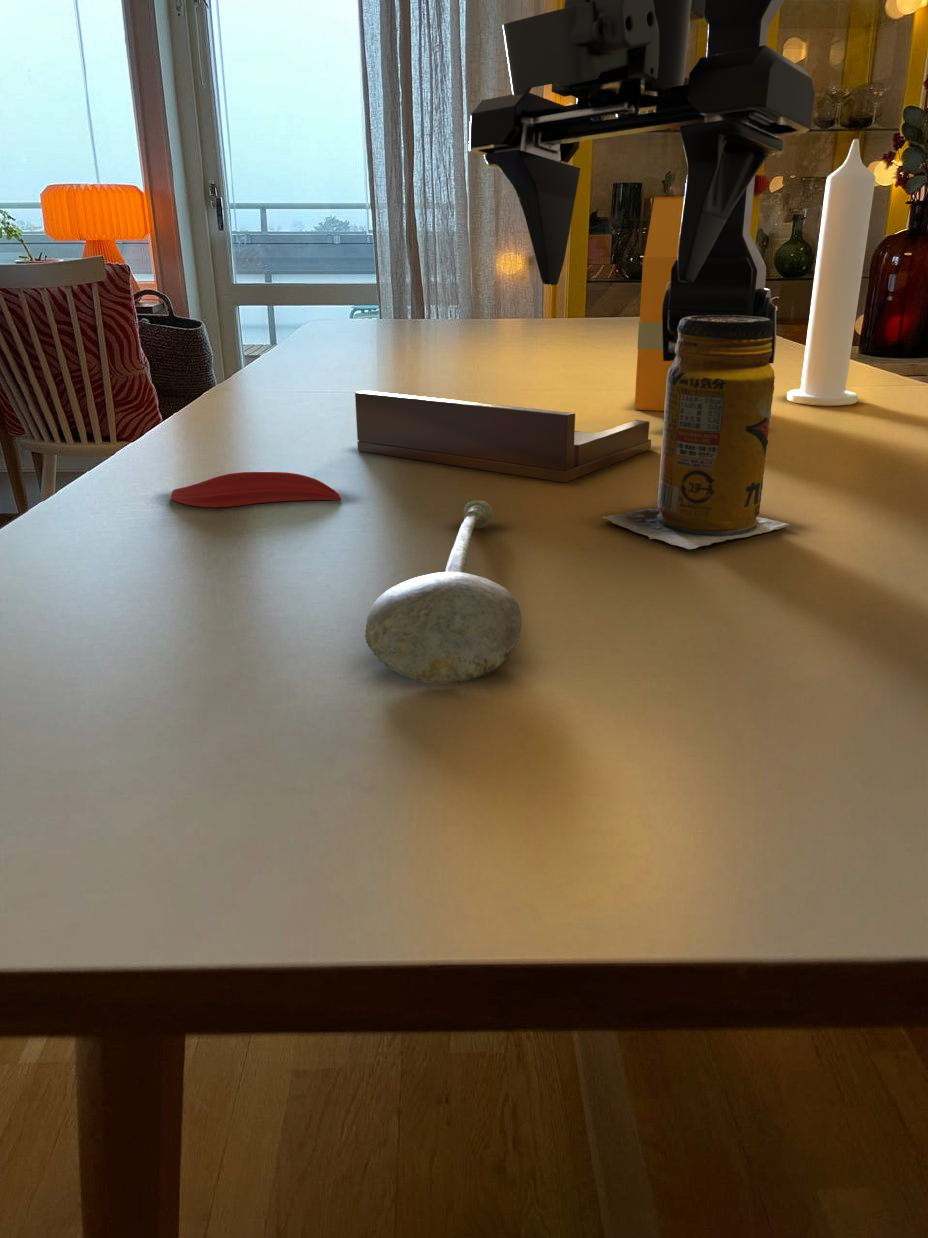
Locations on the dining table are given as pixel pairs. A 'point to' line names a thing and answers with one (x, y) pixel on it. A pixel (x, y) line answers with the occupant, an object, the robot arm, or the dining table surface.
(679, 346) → the condiment
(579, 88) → the robot arm
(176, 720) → the dining table surface
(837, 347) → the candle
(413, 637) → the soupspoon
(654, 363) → the orange juice
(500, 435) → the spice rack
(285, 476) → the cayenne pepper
